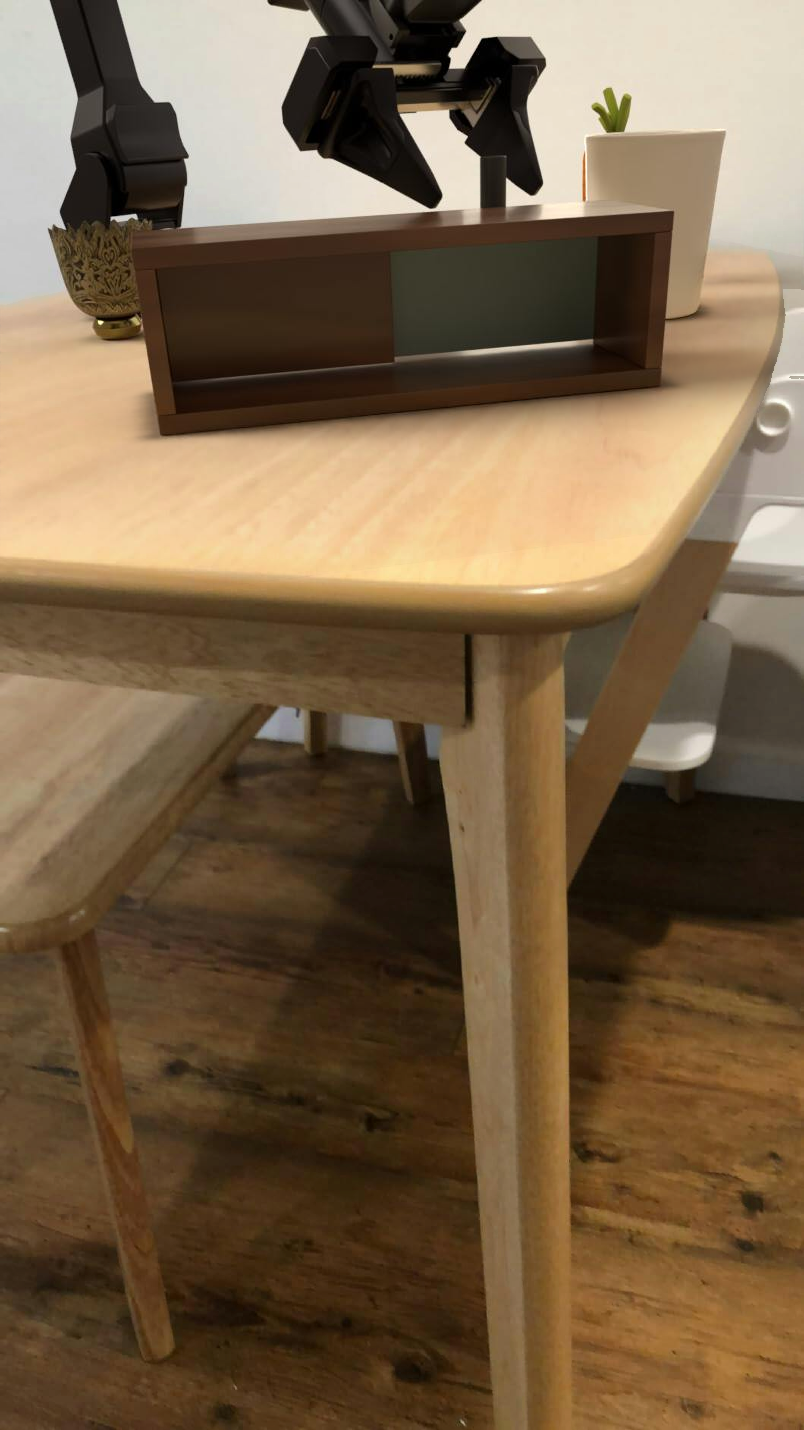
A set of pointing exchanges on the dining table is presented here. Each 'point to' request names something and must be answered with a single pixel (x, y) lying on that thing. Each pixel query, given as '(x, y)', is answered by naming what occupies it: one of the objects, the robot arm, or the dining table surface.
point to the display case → (377, 315)
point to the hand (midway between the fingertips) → (489, 196)
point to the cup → (101, 274)
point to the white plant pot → (664, 193)
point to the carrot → (609, 120)
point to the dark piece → (493, 288)
